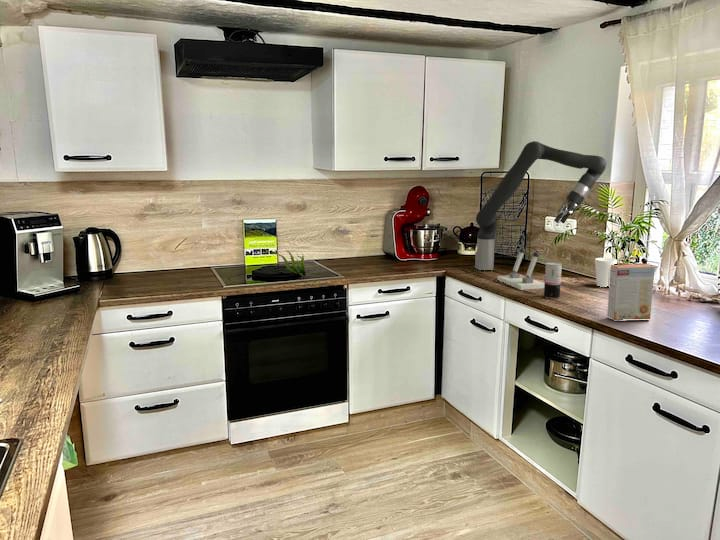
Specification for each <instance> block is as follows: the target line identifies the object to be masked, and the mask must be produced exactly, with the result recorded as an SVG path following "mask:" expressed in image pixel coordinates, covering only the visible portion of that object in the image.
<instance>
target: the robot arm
mask: <svg viewBox="0 0 720 540" xmlns="http://www.w3.org/2000/svg"><path fill="white" fill-rule="evenodd" d="M537 160H544V161H545V160H546V161H550V162H553V163H554V162H555V163H557V164H560V165H563V166H566V167H570V168H575V169H579V170H580V169H581V170H582V169H587V170H586V172H585V173H584V174H582V175H581V177H580V178H579V179H578V181H577V182H576V183H575V185H573V186H572V188H571V190H570V191H569V192H568V194H567V195H566V198H565V200H566V201H567V202H566V203H565V202H564V203H563V204H562V205H561V206H560V208H559V210H557V215H556V217H555V218H554V223H555V222H556V223H559V222H560V223H562V224H565V223H566V221H567V220H568V218H570V217H572V216H573V214H575V211H576V210H577V208H578V207H580V206H581V205H582V204H583V202H584V201H585V199H586V197H587V196H588V194H589V193H590V191H591V190H592V188H593V186H594V185H595V183H596V182H597V181H598V180H599V178H600V177H601V176H602V174H603V173H604V172H605V171H606V167H607V160H606V159H605V158H604V157H603V156H599V155H595V154H594V155H591V154H583V153H579V152H574V151H568V150H564V149H563V150H562V149H558V148H554V147H552V146H548V145H546V144H543V143H541V142H539V141H534V140H533V141H529V142H528V143H527V144H525V145H524V147H523V149H522V150H521V153H520V154H519V156H518V158H517V159H516V161H515V163H514V164H513V166H511V168H510V169H509V170H507V171H508V172H506V173H505V175H504V176H503V177H502V179H501V180H500V182H499V183H498V185H497V187H496V188H495V190H494V191H493V193H492V194H491V196H490V197H489V199H488V200H487V202H486V203H485V204H484V205H483V207H481V209H480V210H479V211H478V212H477V214H476V217H475V219H476V221H475V222H476V224H477V225H478V226H479V230H478V232H477V237H476V238H477V240H476V241H477V242H476V243H477V244H476V251H475V253H474V254H475V256H474V257H475V258H474V259H475V262H474V269H475V268H476V269H475V270H477V269H478V270H477V271H481V270H484V271H483V272H486V271H485V270H491V271H493V270H494V264H495V263H494V261H495V242H496V241H495V239H496V238H495V237H496V233H497V221H498V215H497V212H499V210H500V208H501V207H502V206H503V205H504V204H505V203H507V202H508V200H510V199H511V198H512V197H513V196H514V194H515V192H517V190H518V189H519V187H520V185H521V184H522V182H523V180H524V178H525V176H526V174H527V172H528V171H529V169H530V168H531V167H532V166H533V164H534V163H535V162H536V161H537Z"/></svg>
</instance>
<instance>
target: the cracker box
mask: <svg viewBox="0 0 720 540" xmlns="http://www.w3.org/2000/svg"><path fill="white" fill-rule="evenodd" d="M654 276H655V266H653V265H650V264H647V263H641V264H640V263H639V264H638V263H636V264H632V263H631V264H617V265H611V268H610V283H609V288H608V301H607V310H606V311H607V313H606V317H607V316H608V317H610V318H612V319H613V320H623V319H650V320H651V314H652V304H653V303H652V301H653V292H654V291H653V289H654V279H655V277H654Z"/></svg>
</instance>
